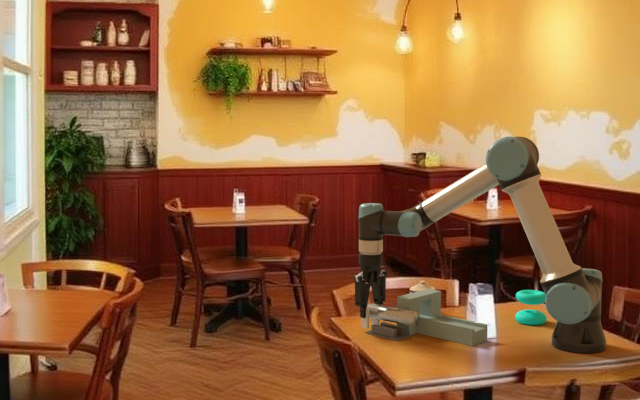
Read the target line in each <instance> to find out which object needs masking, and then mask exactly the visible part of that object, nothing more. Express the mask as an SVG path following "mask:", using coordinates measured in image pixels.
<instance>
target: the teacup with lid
mask: <svg viewBox="0 0 640 400" xmlns="http://www.w3.org/2000/svg"><path fill="white" fill-rule="evenodd" d="M426 282H427V281H425V280H420V281H419V283H417V284H415V285H413V286H411V287H410V288H409V289H408V290H409V294H410V293H414V292H418V291H422V290H426V289H432V290H437V289H436V288H435V286H431V285H430V284H428V283H426Z"/></svg>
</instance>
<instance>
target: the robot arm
mask: <svg viewBox="0 0 640 400" xmlns="http://www.w3.org/2000/svg"><path fill="white" fill-rule="evenodd" d="M539 161H540V153H539V149H538V147H537V145H536V144H535V143H534V142H533V141H532V140H531V139H530V138H527V137H524V136H505V137H502V138H500V139H497V140H496V141H494V142H493V143H492V144H491V145H490V146H489V147H488V149H487V152H486V155H485V163H484V164H483V165H481V166H479V167H478V168H476V169H474V170H473V171H471V172H469V173H468V174H466V175H465V176H463V177H461V178H459V179H457V180H456V181H454V182H453V183H451V184H450V185H448V186H446V187H445V188H443V189H441V190H440V191H438V192H436V193H434V194H433V195H431V196H430V197H428V198H426V199H424V200H423V201H421V202H419V203H417V204H416V205H415V206H413V207H411V208H408V209H405V210H399V211H397V210H396V211H395V210H394V211H393V210H385V209H384V205H383V204H382V203H376V202H369V203H368V202H367V203H361V204H360V205H359V208H358V252H359V253H358V265H359V266H360V270H359V273H358V274H357V275H356V274H354V275H353V280H354V305H355V306H356V307H359V317H360V328H364V329H370V318H369V308H368V307H367V305H368V303H369V298H370V291H371V293H372V295H371V296H372V300H373V304H375V305H380V306H384V304H385V303H384V302H386V296H387V295H386V289H387V287H386V285H387V282H386V281H387V274H388V270H384V269H382V268H381V267H382V266H383V262H384V261H383V260H384V258H383V257H384V256H383V254H382V253H383V251H384V236H395V237H404V238H413V237H414V238H415V237H418V236H419V235H420V233H421V231H423V230H426V229H427V228H428V227H430V226H431V225H433V224H434V223H436V222H437V221H439V220H441V219H443V217H446V216H448V215H449V214H451V213H453V212H454V211H456V210H458V209H460V208H461V207H463V206H465V205H466V204H469V203H470V202H472V201H473V200H475V199H477V198H478V197H480V196H482V195H483V194H486V193H487V192H489V191H491V190H492V189H494V188H496V187H497V186H499V187H500V190H501V191H502V192H504V193H506V194H507V195H509V197H510V200H511V203H512V204H513V206H514V209H515V211H516V214H517V216H518V218H519V221H520V223H521V225H522V228H523V231H524V232H525V234H526V237H527V240H528V242H529V245H530V247H531V249H532V251H533V253H534V257H535V259H536V261H537V264H538V266H539V268H540V271H541V273H542V275H541V278H540V280H539V283H540V285H541V287H542V289H543V292H544V293H545V295H546V297H545V302H544V303H545V308H546V310H547V312H548V314H549V316H551V318H552V319H553V320H555V321H557V322H556V324H555V325H554V326H555V327H554V329H553V331H552V334H551V345H552V346H553V347H554V348H556V349H558V350H561V351H566V352H571V353H581V354H594V353H601V352H603V351H605V350H607V338H606V335H605V331H604V329H603V326H602V322H601V321H602V320H601V319H602V318H601V315H602V290H603V288H602V287H603V281H604V279H603V274H602V271H600V270H598V269H594V268H587V267H586V268H585V267H583V268H582V267H581V266H580V265H577V264H575V263H574V262H573V260H572V257H571V255H570V253H569V251H568V249H567V246H566V244H565V241H564V239H563V236H562V233H561V232H560V230H559V227H558V225H557V223H556V221H555V218H554V216H553V213H552V211H551V209H550V207H549V204H548V202H547V198H546V197H545V194H544V193H543V190H542V188H541V186H540V180H541V176H542V173H541V171H540V169H539V166H538V163H539ZM380 323H381V320H377V319H372V318H371V325H374V324H376V325H380Z"/></svg>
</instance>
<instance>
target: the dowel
mask: <svg viewBox="0 0 640 400" xmlns="http://www.w3.org/2000/svg"><path fill="white" fill-rule="evenodd" d="M367 307H368V308H369V319H371V320H372V319H377V320H380V321H382V322H387V323H392V324H397V323H398V324H403V325H408V326H413V327H416V326H417V325H418V324H419V322H420V315H419V313H418V312H414V311H408V310H403V309H397V307H392V306H391V307H390V306H385V305H381V306H380V305H375V303H370V302H368V305H367Z"/></svg>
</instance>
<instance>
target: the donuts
mask: <svg viewBox="0 0 640 400" xmlns="http://www.w3.org/2000/svg"><path fill="white" fill-rule="evenodd" d="M545 297H546V295H545V292H544V291H541V290H536V289H522V290H519V291H517V292H516V293H515V298H516V300H517V302H519V303H521V304H523V305H528V306H529V305H530V306H531V305H532V306H533V305H534V306H537V305H542V304H544V303H545ZM514 316H515V317H514V318H515V321H516V322H517V323H519V324H523V325H527V326H540V325H543V324H545V323H546V322H547V320H548V317H547V315H546V313H544V312H542V311H540V310H538V309H537V310H536V309H522V310H519V311H517V312H516V314H515V315H514Z"/></svg>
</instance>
